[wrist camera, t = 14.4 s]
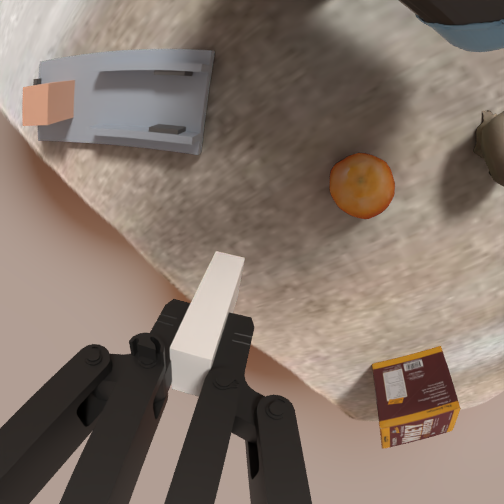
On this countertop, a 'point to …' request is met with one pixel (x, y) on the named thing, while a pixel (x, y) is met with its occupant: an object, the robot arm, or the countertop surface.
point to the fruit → (362, 185)
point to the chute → (134, 98)
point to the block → (48, 103)
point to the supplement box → (414, 397)
